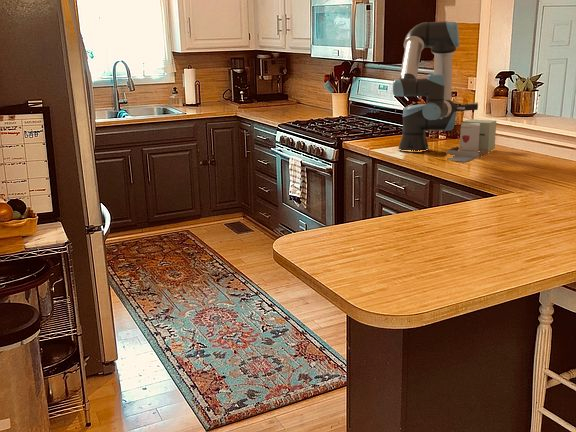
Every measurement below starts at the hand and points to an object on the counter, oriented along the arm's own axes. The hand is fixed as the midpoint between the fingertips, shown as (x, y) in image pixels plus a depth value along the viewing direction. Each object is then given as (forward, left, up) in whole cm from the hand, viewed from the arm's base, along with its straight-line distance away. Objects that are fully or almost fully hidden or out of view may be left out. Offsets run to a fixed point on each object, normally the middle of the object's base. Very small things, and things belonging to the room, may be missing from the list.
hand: (463, 104), depth 298 cm
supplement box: (-5, +8, -25) cm, 27 cm away
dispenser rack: (-6, +11, -25) cm, 28 cm away
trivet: (+2, -4, -25) cm, 26 cm away
